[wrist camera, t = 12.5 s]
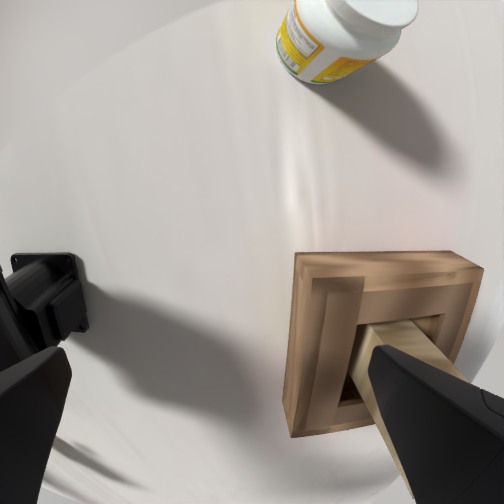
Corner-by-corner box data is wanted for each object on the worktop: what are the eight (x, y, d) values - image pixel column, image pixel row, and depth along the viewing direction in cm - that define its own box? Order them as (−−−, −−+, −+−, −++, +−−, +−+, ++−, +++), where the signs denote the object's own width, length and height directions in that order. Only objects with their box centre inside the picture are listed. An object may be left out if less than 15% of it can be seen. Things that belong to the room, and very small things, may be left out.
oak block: (341, 358, 23) (412, 498, 10) (358, 310, 22) (460, 449, 9) (385, 357, 24) (465, 477, 10) (403, 313, 22) (508, 427, 9)
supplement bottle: (261, 65, 17) (291, -6, 8) (291, 6, 15) (333, -74, 6) (336, 99, 18) (418, 66, 9) (360, 41, 16) (438, -12, 7)
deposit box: (282, 401, 25) (290, 438, 21) (295, 252, 21) (312, 277, 16) (413, 380, 26) (433, 407, 22) (450, 250, 22) (484, 268, 18)
